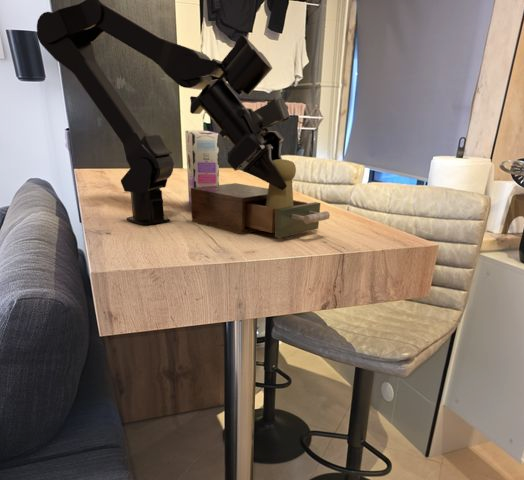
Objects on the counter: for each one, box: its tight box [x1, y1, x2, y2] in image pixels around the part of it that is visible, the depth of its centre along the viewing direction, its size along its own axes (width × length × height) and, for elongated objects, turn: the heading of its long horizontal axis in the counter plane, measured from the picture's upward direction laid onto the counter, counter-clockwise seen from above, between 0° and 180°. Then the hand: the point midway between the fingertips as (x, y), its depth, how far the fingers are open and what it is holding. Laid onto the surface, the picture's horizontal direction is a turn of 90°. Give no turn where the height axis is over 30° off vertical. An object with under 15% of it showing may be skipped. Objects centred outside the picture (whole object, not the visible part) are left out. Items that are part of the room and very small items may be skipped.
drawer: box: [245, 199, 331, 239], centre depth 85 cm, size 18×11×5 cm, turn 47°
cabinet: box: [190, 182, 269, 235], centre depth 92 cm, size 15×13×7 cm
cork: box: [266, 158, 297, 221], centre depth 84 cm, size 6×6×11 cm
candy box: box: [184, 129, 220, 206], centre depth 104 cm, size 14×6×16 cm, turn 14°
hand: (287, 186), depth 83 cm, fingers closed on cork, 5 cm apart
